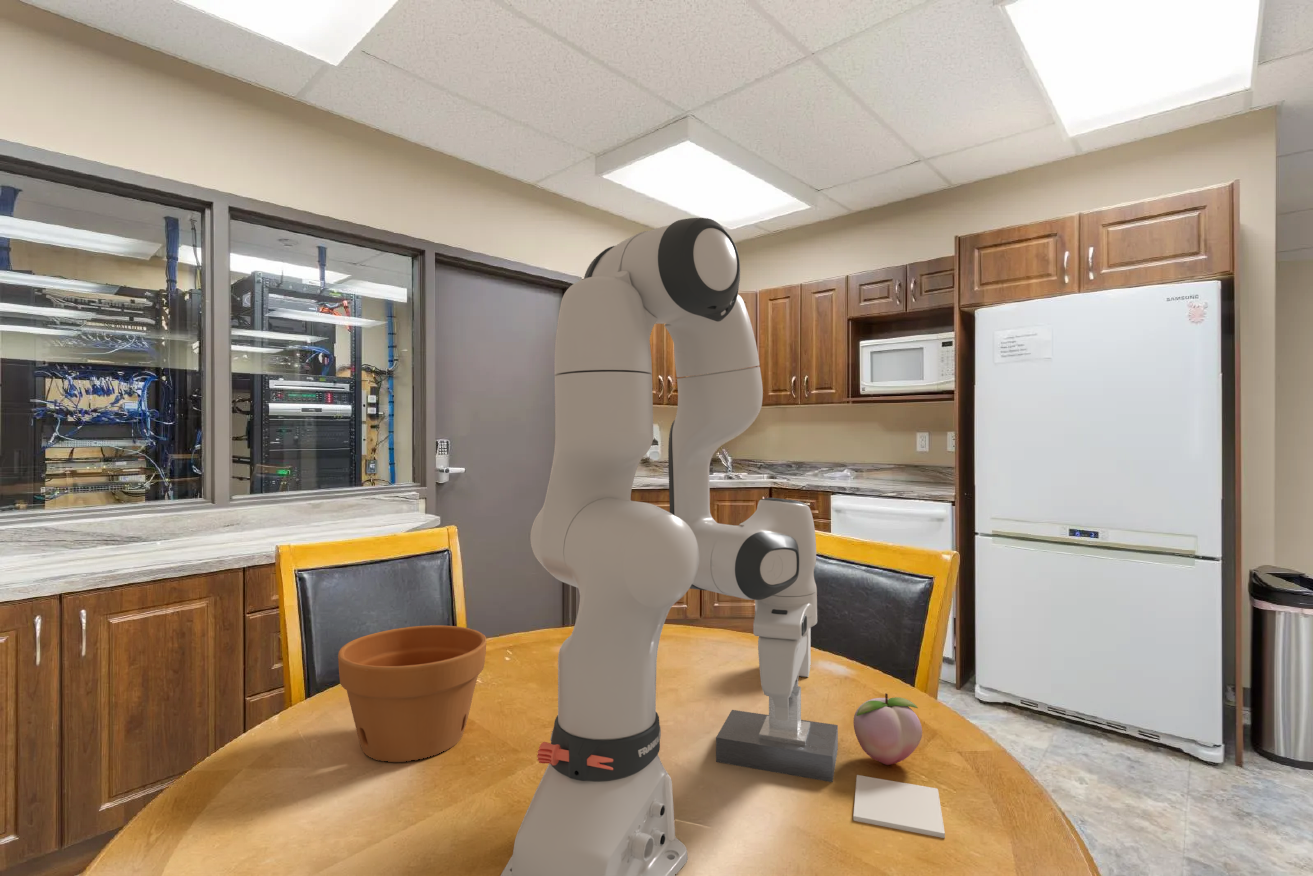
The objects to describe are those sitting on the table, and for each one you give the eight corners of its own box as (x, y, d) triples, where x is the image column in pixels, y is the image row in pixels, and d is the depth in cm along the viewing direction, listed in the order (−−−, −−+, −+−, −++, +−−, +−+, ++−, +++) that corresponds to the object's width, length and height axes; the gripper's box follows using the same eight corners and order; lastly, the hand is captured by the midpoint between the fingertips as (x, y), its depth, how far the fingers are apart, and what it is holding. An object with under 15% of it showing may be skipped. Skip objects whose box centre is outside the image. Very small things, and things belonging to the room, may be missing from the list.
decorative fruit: (891, 745, 95) (890, 678, 95) (933, 771, 87) (932, 698, 87) (839, 756, 91) (839, 687, 91) (878, 784, 84) (877, 709, 84)
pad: (944, 838, 72) (944, 833, 72) (853, 821, 76) (853, 816, 76) (937, 793, 82) (937, 788, 82) (856, 779, 85) (856, 775, 85)
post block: (832, 782, 84) (832, 756, 84) (715, 762, 90) (716, 737, 90) (837, 748, 94) (837, 725, 94) (732, 732, 99) (731, 709, 99)
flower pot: (425, 701, 111) (426, 616, 111) (514, 729, 100) (515, 635, 100) (306, 751, 93) (307, 650, 93) (399, 792, 82) (400, 677, 82)
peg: (805, 770, 87) (805, 701, 87) (759, 762, 89) (759, 695, 89) (810, 749, 93) (810, 684, 93) (766, 742, 95) (766, 679, 95)
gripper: (775, 591, 102) (776, 676, 102) (750, 627, 83) (752, 732, 83) (815, 593, 100) (816, 680, 100) (799, 631, 81) (800, 739, 81)
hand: (787, 704), depth 92 cm, fingers open, 8 cm apart
